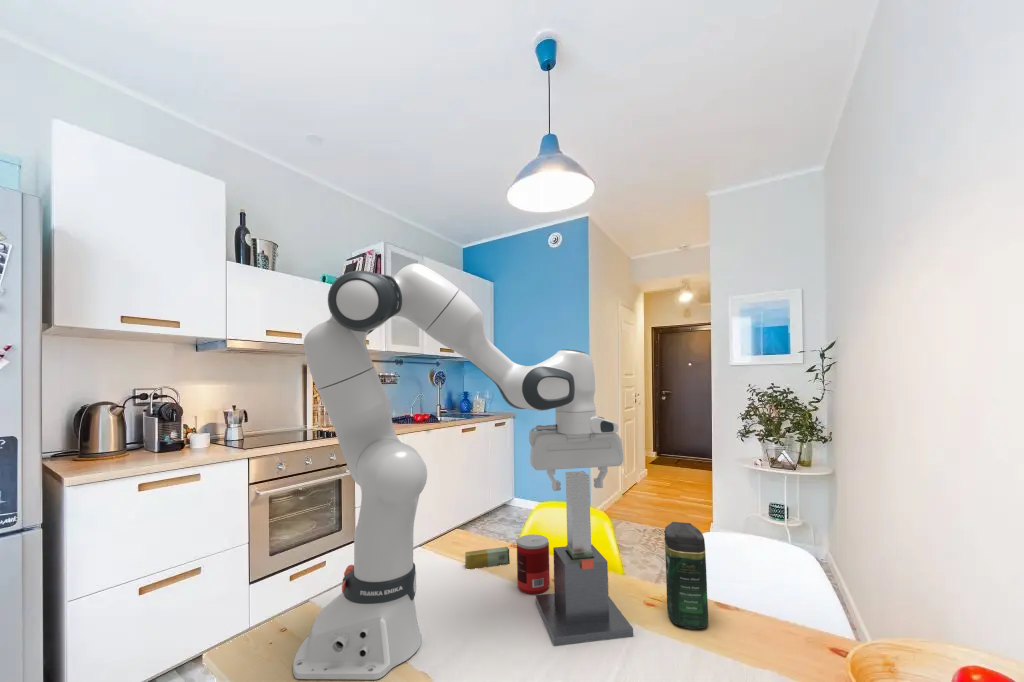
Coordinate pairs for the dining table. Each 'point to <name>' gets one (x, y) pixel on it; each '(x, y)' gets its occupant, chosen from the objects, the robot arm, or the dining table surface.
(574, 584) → the stand housing
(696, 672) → the dining table surface
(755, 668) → the dining table surface
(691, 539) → the coffee jar
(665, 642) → the dining table surface
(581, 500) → the column
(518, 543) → the canned food
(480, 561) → the medication box
